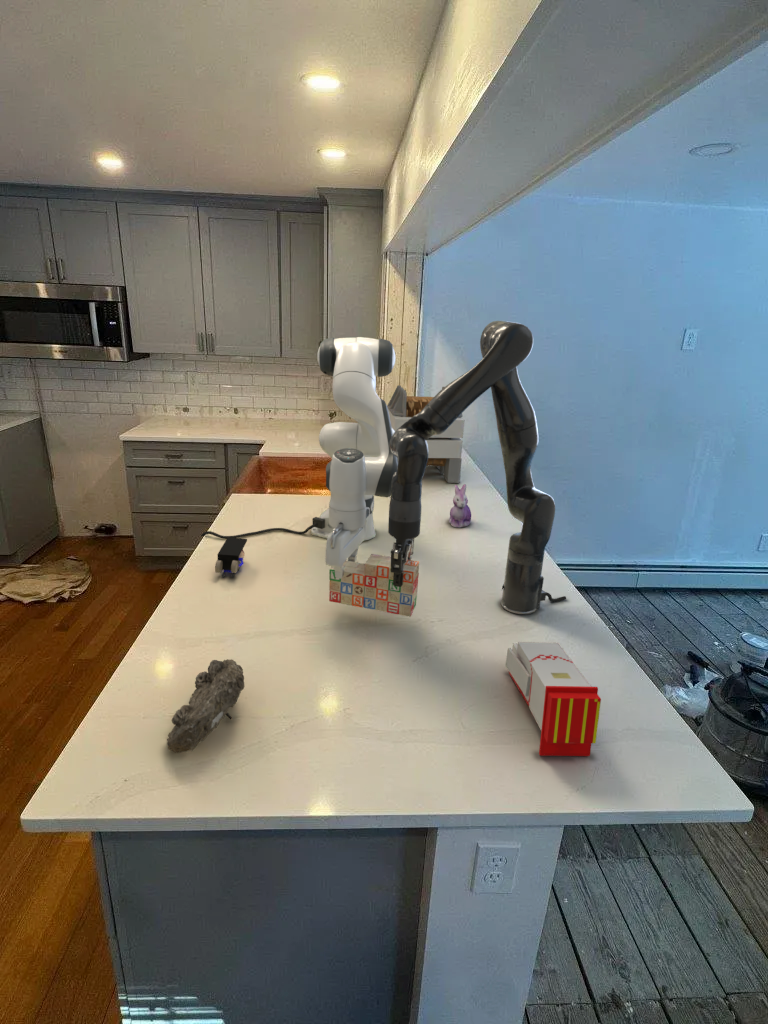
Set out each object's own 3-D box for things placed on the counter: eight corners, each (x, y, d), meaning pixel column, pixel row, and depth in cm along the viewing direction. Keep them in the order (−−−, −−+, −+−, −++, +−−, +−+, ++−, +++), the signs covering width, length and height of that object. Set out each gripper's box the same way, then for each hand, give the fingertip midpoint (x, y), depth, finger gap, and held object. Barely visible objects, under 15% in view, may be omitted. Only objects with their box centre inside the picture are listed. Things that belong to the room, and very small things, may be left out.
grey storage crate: (382, 463, 289) (386, 382, 275) (445, 464, 293) (451, 384, 279) (390, 482, 257) (394, 392, 243) (460, 483, 261) (468, 394, 247)
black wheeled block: (238, 584, 162) (249, 557, 175) (236, 562, 158) (247, 536, 172) (215, 584, 161) (227, 556, 175) (212, 561, 158) (225, 535, 171)
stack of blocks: (328, 602, 142) (328, 557, 138) (337, 591, 148) (337, 547, 144) (411, 617, 137) (414, 571, 133) (417, 604, 143) (419, 560, 138)
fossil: (192, 660, 117) (244, 628, 112) (224, 691, 120) (276, 661, 115) (142, 746, 98) (202, 712, 93) (182, 779, 101) (242, 748, 96)
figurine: (457, 529, 205) (460, 490, 200) (441, 520, 214) (444, 482, 209) (478, 526, 210) (482, 487, 205) (462, 517, 218) (465, 480, 213)
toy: (554, 624, 127) (610, 694, 97) (548, 679, 130) (602, 763, 100) (500, 623, 126) (541, 693, 97) (496, 678, 129) (534, 763, 100)
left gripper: (345, 533, 126) (343, 589, 131) (372, 506, 145) (370, 556, 149) (318, 529, 128) (318, 584, 132) (348, 503, 147) (347, 552, 151)
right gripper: (413, 528, 125) (409, 595, 131) (426, 507, 138) (422, 570, 144) (380, 523, 127) (378, 590, 133) (397, 504, 140) (394, 565, 146)
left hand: (346, 569), depth 141 cm, fingers open, 8 cm apart
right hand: (401, 579), depth 138 cm, fingers closed on stack of blocks, 6 cm apart
